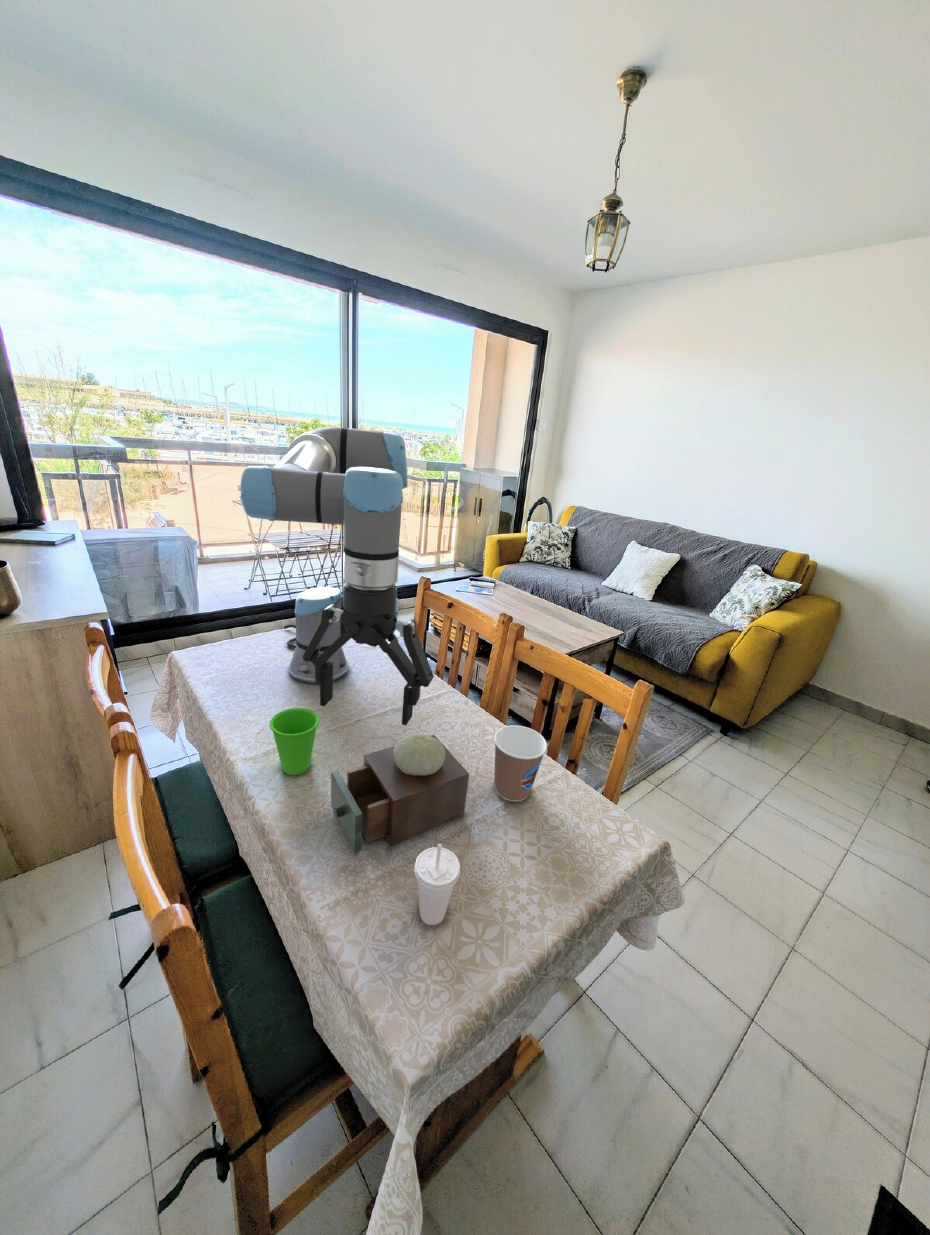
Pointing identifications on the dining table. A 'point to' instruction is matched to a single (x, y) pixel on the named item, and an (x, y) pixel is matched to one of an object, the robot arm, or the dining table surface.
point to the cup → (295, 738)
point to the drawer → (360, 806)
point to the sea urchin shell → (419, 754)
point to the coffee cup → (517, 761)
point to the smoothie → (435, 882)
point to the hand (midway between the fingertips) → (366, 711)
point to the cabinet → (419, 794)
